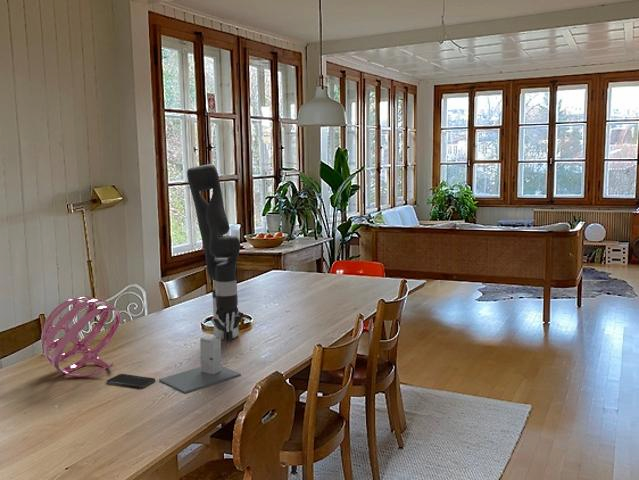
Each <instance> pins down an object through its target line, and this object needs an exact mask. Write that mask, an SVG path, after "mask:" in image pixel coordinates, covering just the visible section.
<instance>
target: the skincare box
mask: <svg viewBox="0 0 639 480" xmlns="http://www.w3.org/2000/svg"><path fill="white" fill-rule="evenodd" d="M199 342H200V343H199V344H200V349H199V350H200V367H201V372H205V373H208V374H216V373H218V372H220V371H221V366H222V347H221V345H222V343H221V342H222V340H221V338H219V337H215V336H214V335H210V334H209V335H208V334H207V335H204V336H203V337H200V341H199Z"/></svg>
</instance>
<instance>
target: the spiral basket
mask: <svg viewBox="0 0 639 480" xmlns="http://www.w3.org/2000/svg"><path fill="white" fill-rule="evenodd" d="M82 300H84V301H82ZM80 301H81V302H80ZM99 302H101V303H102V305H100V306H99V307H97V303H99ZM71 305H72V307H71V309H70V310H68V312H66V313H65V314H64V315H63V316H62V317H61V316H59V315H60V314H61V313H63V312H64V310H65V309H67V308H69V306H71ZM84 308H87V310H86V311H85V313H84V315H83V316H82V317H81V318H79V319H78V320H77V321H76V322H75V323H74V324H73V325H72V326H71V327H70V328H69V325H70V323H71V322H72V321H73V320H74V319H75V317H77V315H78V313H79V312H80V311H81V310H83V309H84ZM111 311H114V312H115V318H114V320H113V323H112V325H111V327H110V328H109V330H108V332H107V334H105V335H104V337H103V338H102V340H101V341H100V342H99V343H98V344H97V346H95V347H94V348H93V349H89V347H88V346H89V344H91V342H92V341H93V340H94V339H95V338H96V337H97V336H98V334H99V333H100V332H101V330H103V328H104V326H105V325H106V322H107V320H108V319H109V315H110V312H111ZM58 316H59V320H58V321H57V322H56V324H55V325H53V322H54V320H55V319H56V318H57V317H58ZM98 316H100V317H99V318H98V321H97V322H96V324H95V326H94V327H93V328H92V330H91V331H90V332H89V333H88V334H87V336H85V337H84V338H83V339H79V338H78V335H79V334H80V333H81V331H83V330H84V328H85V327H86V326H87V325H88V323H89V322H90V321H92V320H93V319H94V318H96V317H98ZM121 319H122V317H121V312H120V311H119V309H118V308H117V307H116V306H114V305H112V304H110V303H109V302H108V301H107V300H106V299H103V298H100V297H92V296H89V295H83V296H77V297H75V298H72V299H71V298H70V299H67V300H65V301H63V302H62V303H60V304H58V305H57V306H56V307H55V308H54V309H53V310H52V311H51V312H50V313H49V314H48V316H47V317H46V320H45V322H44V325H43V328H42V332H41V338H40V341H41V345H42V346H43V355H44V356H45V358H46V360H47V361H48V362H49V363H50V364H51V365H52V366H53V368H54V369H55V370H57V371H58V372H60V373H62V374H64V375H66V376H68V377H73V378H88V377H93V376H95V375H98V374H100V373H102V372H104V371H105V370H106V369H109V368H112V367H114V363H111V364H109V363H108V362H106V361H104V360H102V359H101V358H99V354H100V353H101V352H102V351H103V349H104V348H105V347H106V346H107V345H108V344H109V343H110V341H111V340H112V338H113V337H114V336H115V334H116V332H117V330H118V328H119V326H120V323H121ZM52 325H53V326H52ZM61 330H63V331H64V333H65V334H64V335H63V336H62V337H60V338H58V339H56V340H54V338H55V336H56V335H57V334H58V333H59V331H61ZM70 342H71V343H72V344H73V347H72V348H71V349H68V350H67V351H66V352H64V350H65V349H66V347H67V345H68V344H69V343H70ZM52 349H54V351H53V354H51V351H50V350H52ZM63 352H64V353H63ZM77 354H82V355H83V357H82V358H81V359H80V360H78V361H76V362H75V363H72V364H71V365H68V366H65V367H60V366H59V365H60V364H59V363H60V362H64V361H66V360H68V359H70V358H73V357H74V356H75V355H77ZM88 363H94V364H95V365H97V366H99V367H101V368H100V369H98V370H96V371H94V372H93V371H92V372H91V373H86V374H85V373H83V374H77V373H72V372H73V371H76V370H78V369H80V368H81V367H84V366H85V365H86V364H88ZM70 372H71V373H70Z"/></svg>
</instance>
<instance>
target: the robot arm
mask: <svg viewBox="0 0 639 480" xmlns="http://www.w3.org/2000/svg"><path fill="white" fill-rule="evenodd" d="M186 172H187V173H186V177H187V182H188V185H189V189H190V192H191V193H190V194H191V196H192V199H193V203H194V207H195V213H196V218H197V223H198V230H199V233H200V236H201V241H202V244H203V249H204V256H205V263H206V271H207V275H208V278H209V279H210V280H212V281H215V288H214V289H213V290H212V294H211V295H212V310H213V311H212V316H213V317H211V318H210V322H211V323H212V324H213V336H215V337H219V338H221V341H225V342H226V343H229V342H232V340H233V339H235V338H237V337H238V336H239V334H240V333H239V324H240V323H241V320H242V319H243V317H244V312H241V311H239V308H238V305H239V303H238V302H239V300H238V299H239V298H238V283H237V264H238V258H239V254H240V252H241V251H240V250H241V242H240V240H239V237H238V236H236V235H226V234H228V233H229V231H230V225H229V221H228V217H227V214H226V210H225V206H224V205H225V204H224V199H223V192H222V188H221V187H222V185H221V181H220V177H219V173H218V170H217V167H216V166H215V165H214V164H212V163H208V164H203V165H198V166H192V167H190V168H188V169H187V171H186ZM208 190H209V191H210V190H212V194H211V197H210V200H209V202H207V200H206V199H205V198H204V197H203V195H202V193H201V192H204V191H208Z"/></svg>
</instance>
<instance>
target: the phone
mask: <svg viewBox="0 0 639 480" xmlns="http://www.w3.org/2000/svg"><path fill="white" fill-rule="evenodd" d="M154 383H156V378H155V377H147V376H142V375H141V376H140V375H134V374H125V373H119V374H117V375H115V376H113V377H111V378H109V379H107V380H106V384H107V385H114V386H120V387H125V388H132V389H138V390H139V389H141V390H142V389H145V388H147V387H149V386H150V385H152V384H154Z"/></svg>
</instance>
